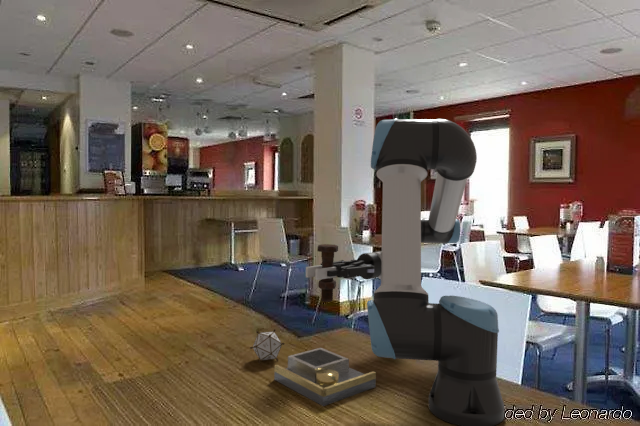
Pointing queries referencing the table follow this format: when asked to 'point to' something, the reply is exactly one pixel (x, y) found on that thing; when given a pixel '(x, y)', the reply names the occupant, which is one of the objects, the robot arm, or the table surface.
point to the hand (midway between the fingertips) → (311, 273)
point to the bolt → (327, 261)
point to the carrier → (323, 376)
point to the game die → (267, 345)
